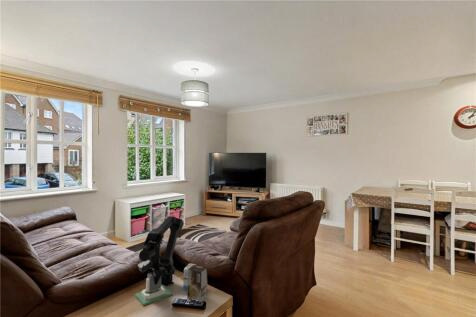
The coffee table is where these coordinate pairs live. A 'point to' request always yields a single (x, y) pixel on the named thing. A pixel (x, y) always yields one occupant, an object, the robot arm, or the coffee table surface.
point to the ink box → (186, 276)
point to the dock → (153, 295)
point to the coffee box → (197, 283)
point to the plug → (152, 283)
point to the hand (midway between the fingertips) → (154, 282)
